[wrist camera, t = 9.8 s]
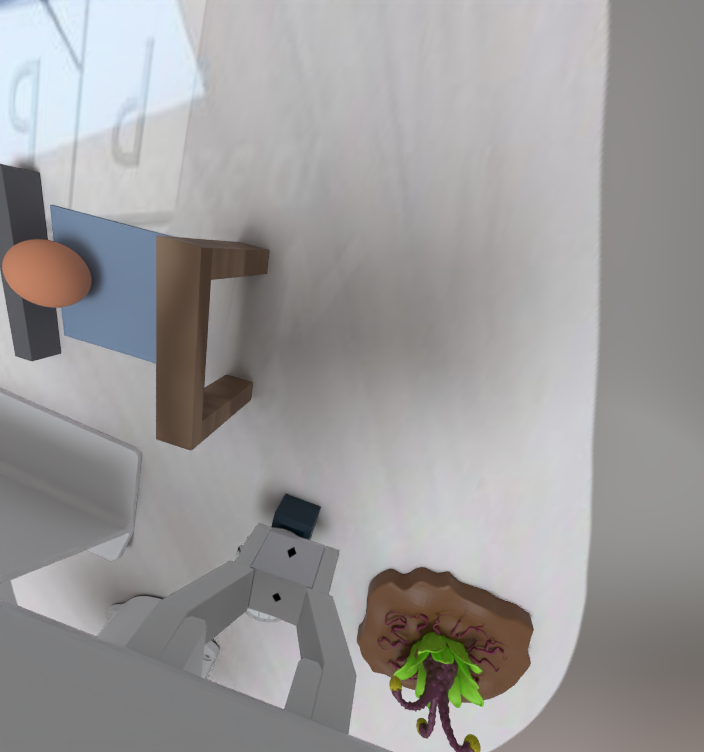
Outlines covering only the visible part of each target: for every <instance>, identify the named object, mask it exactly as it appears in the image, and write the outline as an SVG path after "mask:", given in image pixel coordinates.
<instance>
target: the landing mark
mask: <svg viewBox="0 0 704 752" xmlns="http://www.w3.org/2000/svg"><path fill="white" fill-rule="evenodd" d="M50 210H51V219H52V228H53V237H54V242H57V243H60V244H63V245H65V246H67V247H68V248H70V249H72V250H73V251H75V252H76V253H77V254H78V255H79V256H80V257H81V258H82V259H83V260H84V261H85V263H86V264H87V266H88V268H89V270H90V273H91V279H92V281H91V287H90V290H89V292H88V294H87V295H86V296H85V297H84V298H83V299H82V300H81V301H79V302H77V303H76V304H73V305H70V306H66V307H61V308H62V317H63V326H64V335H65V336H69V337H72V338H75V339H78V340H82V341H85V342H88V343H91V344H95V345H98V346H101V347H105V348H108V349H111V350H114V351H118V352H121V353H124V354H127V355H131V356H134V357H137V358H141V359H144V360H147V361H150V362H154V363H156V236H167V235H163V234H159V233H155V232H151V231H148V230H144V229H140V228H136V227H133V226H129V225H125V224H121V223H117V222H114V221H110V220H106V219H102V218H98V217H95V216H91V215H87V214H83V213H79V212H76V211H72V210H68V209H64V208H60V207H57V206H53V205H50ZM167 237H170V236H167Z"/></svg>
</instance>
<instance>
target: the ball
mask: <svg viewBox="0 0 704 752" xmlns="http://www.w3.org/2000/svg"><path fill="white" fill-rule="evenodd" d="M2 270H3V274H4V277H5V279H6V281H7V283H8V284H9V286H10V287H11V288H12V289H13V290H14V291H15V292H16V293H17V294H18V295H20V296H21V297H22V298H24V299H26V300H28V301H30V302H32V303H35V304H37V305H41V306H45V307H57V308H59V307H66V306H70V305H73V304H76V303H77V302H79V301H81V300H82V299H83V298H84V297H85V296H86V295H87V294H88V292H89V290H90V287H91V281H92V279H91V273H90V270H89V268H88V266H87V264H86V263H85V261H84V260H83V259H82V258H81V257H80V256H79V255H78V254H77V253H76V252H75V251H73V250H72V249H70V248H68V247H67V246H65V245H63V244H60V243H57V242H54V241H50V240H43V239H33V240H27V241H23V242H20V243H18V244H16V245H14V246H13V247H12V248H10V249H9V250H8V252H7V253H6V255H5V256H4V259H3V263H2Z"/></svg>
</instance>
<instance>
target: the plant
mask: <svg viewBox="0 0 704 752" xmlns="http://www.w3.org/2000/svg"><path fill="white" fill-rule="evenodd" d="M533 631H534V630H533V625H532V621H531V618H530V614H529V613H527V612H526V611H524V610H523V609H521V608H520V607H519V606H517V605H516V604H513V603H510V602H507V601H504V600H501V599H499V598H497V597H495V596H493V595H492V594H491V593H489V592H487V591H485V590H482V589H479V588H476V587H473V586H470V585H467V584H464V583H462V582H460V581H458V580H457V579H456V578H455V577H453V576H452V574H451V573H450V572H443V573H436V572H433V571H431V570H429V569H426V568H423V567H420V568H417V569H415V570H413V571H412V572H410V573H408V574H401V573H399V572H397V571H395V570H393V569H388V570H386V571H384V572H382V573H380V574H378V575H377V576H376V577H375V578H374V579H373V580H372V581H371V583H370V586H369V591H368V597H367V612H366V615H365V618H364V621H363V622H362V623H361V625H360V626H359V629H358V635H357V643H358V645H359V646H360V651H361V654H362V657H363V658H364V659H365V660H366V662H367V663H368V664H369V666H370V667H371V669H372V671H373V672H376V673H382V674H385V675H387V676H389V677H391V679H390V690H391V691H392V694H393V696H394V697H395V698H396V699H397V701H398V702H400V703H401V706H404V707H405V709H408V710H415V711H417V710H421V708H422V709H424V708H425V706H427V707H428V708H429V711H430V712H429V715H428V719H429V720H428V723H427V722H426V720H425V719H424V718H419V719H418V720H417V724H416V726H417V731H418V733H419V734H420V735H421V736H422V737H423V738H428V737H429V736H430V734H431V733H432V731H433V729H434V728H433V727H434V725H435V718H436V707H437V706H438V709H439V714H440V719H441V722H442V727H443V729H444V732H445V734H446V735H447V739H448V740H449V741H450V742H449V743H450V746H451V747H453V748H454V750H455V751H456V752H480V743H479V740H478V739H477V737H475V736H474V735H471V734H469V735H467V736H466V738H465V739H464V743H463V745H462V746H461V745H458V743H457V741H456V738H455V737H454V735H453V729H452V728H451V725H450V718H449V707H448V703H449V701H450V702H451V703H452V704H453V705H454V706H455V707H457V708H460V706H461V702H463V703H474V704H476V705H479V706H481V707H483V705H484V701H483V700H486V699H490V698H493V697H496V696H498V695H500V694H502V693H504V692H505V691H507V690H508V689H509V688H511V687H512V686H514V685H515V684H516V683H517V682H518V680H519V679H520V677H521V676H522V675H523V674H524V673H525V672H526V670H527V669H528V668H529V666H530V664H531V661H530V657H529V653H528V647H529V643H530V639H531V636H532V633H533ZM402 686H404V687H406V688H409V689H413V690H415V694H416V697H417V698H419V700H417V701H416V702H413V703H412V702H409V703H408V702H405V700H404V699H402V695H401V691H402V689H401V688H402Z"/></svg>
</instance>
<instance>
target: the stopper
mask: <svg viewBox="0 0 704 752" xmlns="http://www.w3.org/2000/svg"><path fill="white" fill-rule="evenodd" d="M33 239H43V240H47V232H46V224H45V215H44V207H43V198H42V190H41V182H40V173H37V172H33V171H29V170H25V169H21V168H16V167H12V166H7V165H3V164H0V271H1V277H2V282H3V288H4V294H5V299H6V305H7V311H8V316H9V322H10V328H11V333H12V339H13V345H14V350H15V356H17V357H20V358H23V359H26V360H29V361H35V360H39V359H42V358H46V357H50V356H53V355H57V354H61V350H60V341H59V333H58V324H57V316H56V308H55V307H45V306H41V305H37V304H35V303H32V302H30V301H28V300H26V299H24V298H22V297H21V296H20V295H18V294H17V293H16V292H15V291H14V290H13V289H12V288H11V287H10V286H9V284H8V283H7V281H6V279H5V277H4V274H3V270H2V263H3V259H4V256H5V255H6V253H7V252H8V250H9V249H10V248H12V247H13V246H14V245H16V244H18V243H20V242H23V241H27V240H33Z"/></svg>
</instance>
